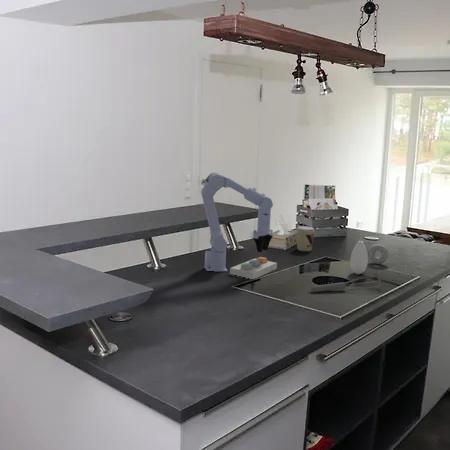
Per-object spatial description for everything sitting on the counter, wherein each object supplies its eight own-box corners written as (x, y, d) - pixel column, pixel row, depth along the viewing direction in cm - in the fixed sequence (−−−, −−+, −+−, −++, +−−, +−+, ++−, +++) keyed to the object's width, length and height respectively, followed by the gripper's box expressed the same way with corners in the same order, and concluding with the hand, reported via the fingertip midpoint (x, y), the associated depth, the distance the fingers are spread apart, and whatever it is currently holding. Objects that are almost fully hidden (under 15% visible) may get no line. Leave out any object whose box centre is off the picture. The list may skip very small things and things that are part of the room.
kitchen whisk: (303, 290, 224) (304, 275, 223) (375, 286, 234) (376, 272, 233) (310, 295, 218) (311, 280, 217) (383, 291, 228) (384, 276, 227)
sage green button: (247, 272, 239) (247, 265, 239) (240, 270, 241) (240, 264, 241) (251, 270, 242) (252, 264, 242) (244, 269, 244) (245, 262, 244)
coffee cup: (307, 252, 288) (309, 230, 286) (292, 249, 294) (294, 227, 291) (316, 249, 295) (317, 227, 293) (301, 246, 301) (302, 225, 299)
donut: (366, 263, 271) (368, 243, 269) (367, 261, 274) (369, 242, 272) (386, 266, 267) (388, 246, 265) (388, 264, 270) (389, 244, 268)
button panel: (253, 279, 236) (253, 273, 235) (229, 274, 242) (230, 268, 242) (276, 269, 254) (277, 262, 253) (254, 264, 260) (254, 258, 260)
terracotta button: (263, 265, 251) (263, 259, 250) (256, 264, 253) (256, 258, 252) (266, 264, 254) (267, 258, 253) (260, 262, 256) (260, 256, 255)
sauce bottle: (366, 276, 247) (370, 238, 243) (349, 275, 248) (352, 236, 245) (366, 272, 254) (369, 234, 251) (349, 270, 256) (352, 233, 252)
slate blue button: (255, 269, 245) (255, 262, 245) (248, 267, 247) (248, 261, 246) (259, 267, 248) (259, 261, 248) (252, 265, 250) (252, 259, 249)
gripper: (263, 225, 241) (262, 255, 244) (278, 221, 253) (277, 249, 256) (250, 223, 245) (248, 252, 248) (265, 219, 257) (264, 247, 260)
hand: (262, 251), depth 252 cm, fingers open, 4 cm apart
